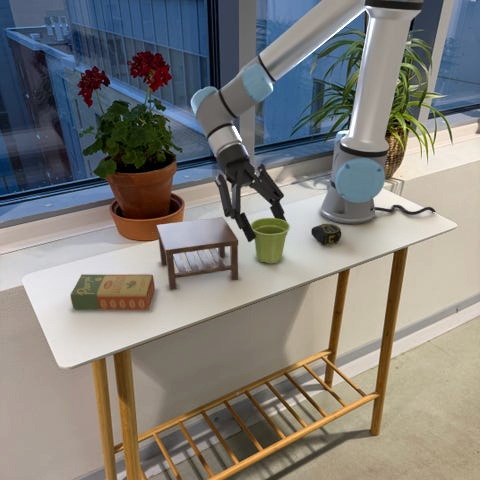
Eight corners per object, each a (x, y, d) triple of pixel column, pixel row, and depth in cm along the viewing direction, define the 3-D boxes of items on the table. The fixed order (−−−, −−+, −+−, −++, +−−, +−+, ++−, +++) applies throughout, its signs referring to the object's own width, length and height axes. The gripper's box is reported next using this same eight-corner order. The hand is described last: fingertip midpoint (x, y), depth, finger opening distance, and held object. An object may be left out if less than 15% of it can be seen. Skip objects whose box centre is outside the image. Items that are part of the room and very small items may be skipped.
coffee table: (224, 253, 122) (223, 216, 116) (238, 279, 112) (238, 240, 106) (160, 262, 118) (156, 224, 112) (169, 290, 108) (165, 250, 102)
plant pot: (244, 253, 122) (244, 221, 117) (277, 246, 125) (278, 214, 120) (259, 270, 115) (260, 237, 110) (294, 262, 118) (297, 230, 113)
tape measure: (309, 237, 129) (310, 224, 127) (332, 234, 131) (334, 221, 129) (320, 249, 124) (322, 235, 122) (344, 245, 126) (346, 231, 123)
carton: (148, 311, 101) (146, 294, 99) (72, 310, 102) (68, 293, 99) (155, 289, 108) (153, 273, 106) (84, 289, 109) (80, 272, 106)
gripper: (258, 151, 126) (295, 228, 125) (185, 168, 115) (225, 252, 114) (271, 134, 119) (311, 215, 118) (196, 151, 109) (238, 240, 108)
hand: (268, 233), depth 116 cm, fingers closed on plant pot, 9 cm apart
